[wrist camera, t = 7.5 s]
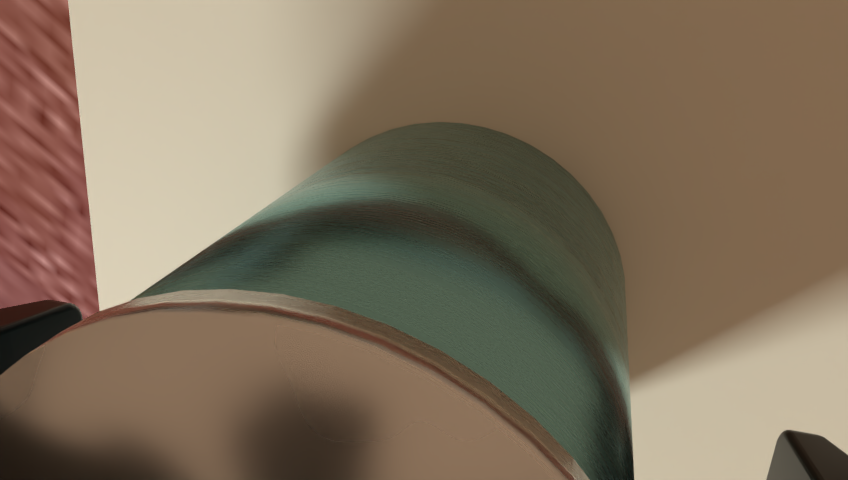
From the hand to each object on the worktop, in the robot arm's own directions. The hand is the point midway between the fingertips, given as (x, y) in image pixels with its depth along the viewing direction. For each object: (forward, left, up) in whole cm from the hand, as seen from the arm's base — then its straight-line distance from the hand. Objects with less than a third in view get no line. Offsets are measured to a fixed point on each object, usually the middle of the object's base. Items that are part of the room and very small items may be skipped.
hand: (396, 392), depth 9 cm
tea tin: (0, 0, -3) cm, 3 cm away
